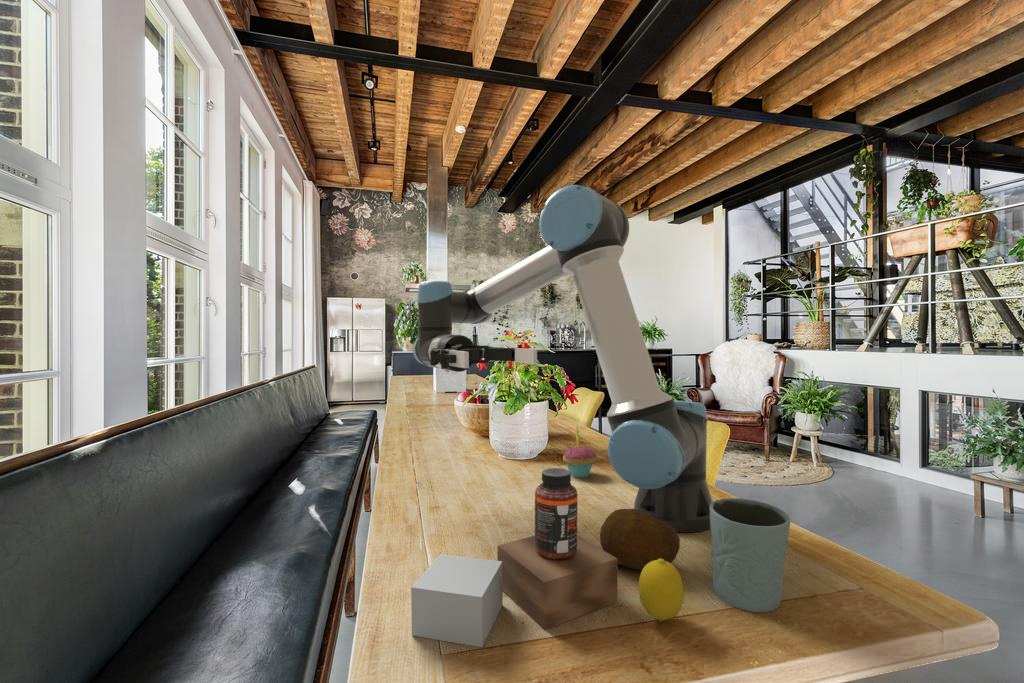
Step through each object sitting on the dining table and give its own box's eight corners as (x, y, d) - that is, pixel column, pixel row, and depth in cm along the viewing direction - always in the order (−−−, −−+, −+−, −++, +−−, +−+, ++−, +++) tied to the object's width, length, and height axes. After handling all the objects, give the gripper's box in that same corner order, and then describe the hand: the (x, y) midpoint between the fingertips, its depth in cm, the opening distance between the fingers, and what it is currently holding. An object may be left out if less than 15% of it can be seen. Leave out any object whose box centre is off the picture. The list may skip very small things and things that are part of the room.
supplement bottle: (575, 563, 66) (575, 479, 65) (531, 559, 67) (531, 476, 67) (579, 543, 72) (579, 466, 71) (538, 540, 73) (538, 464, 72)
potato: (671, 588, 71) (671, 528, 70) (591, 569, 76) (591, 513, 76) (680, 563, 78) (681, 508, 78) (607, 547, 84) (607, 496, 83)
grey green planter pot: (728, 570, 76) (729, 493, 75) (800, 597, 68) (802, 511, 68) (695, 594, 69) (695, 509, 69) (771, 627, 62) (772, 532, 61)
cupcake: (557, 471, 127) (557, 425, 127) (587, 468, 130) (587, 423, 129) (571, 481, 119) (571, 432, 119) (603, 478, 122) (603, 429, 121)
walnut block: (564, 565, 78) (564, 527, 77) (617, 602, 67) (617, 558, 67) (497, 586, 71) (497, 545, 71) (544, 630, 61) (544, 582, 61)
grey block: (502, 605, 67) (502, 561, 66) (482, 647, 58) (481, 597, 58) (440, 596, 69) (440, 553, 69) (411, 635, 60) (411, 587, 60)
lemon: (674, 607, 66) (674, 548, 66) (690, 633, 60) (691, 569, 60) (633, 608, 66) (633, 549, 65) (645, 635, 60) (646, 570, 60)
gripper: (504, 367, 110) (560, 376, 92) (394, 373, 97) (434, 384, 79) (504, 334, 110) (560, 335, 92) (394, 335, 97) (434, 338, 79)
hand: (502, 358), depth 85 cm, fingers open, 13 cm apart
